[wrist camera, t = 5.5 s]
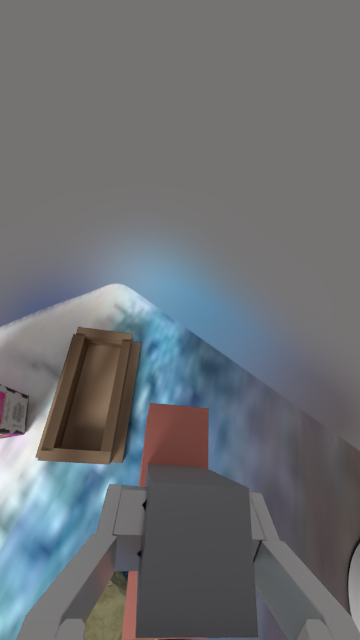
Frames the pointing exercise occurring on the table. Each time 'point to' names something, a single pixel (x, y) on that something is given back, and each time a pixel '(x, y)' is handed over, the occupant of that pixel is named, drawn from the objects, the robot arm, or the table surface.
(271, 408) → the table surface
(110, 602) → the decorative tile
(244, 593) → the pink and grey block
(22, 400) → the candy bar box
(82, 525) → the table surface
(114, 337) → the brown wooden tray
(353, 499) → the table surface
